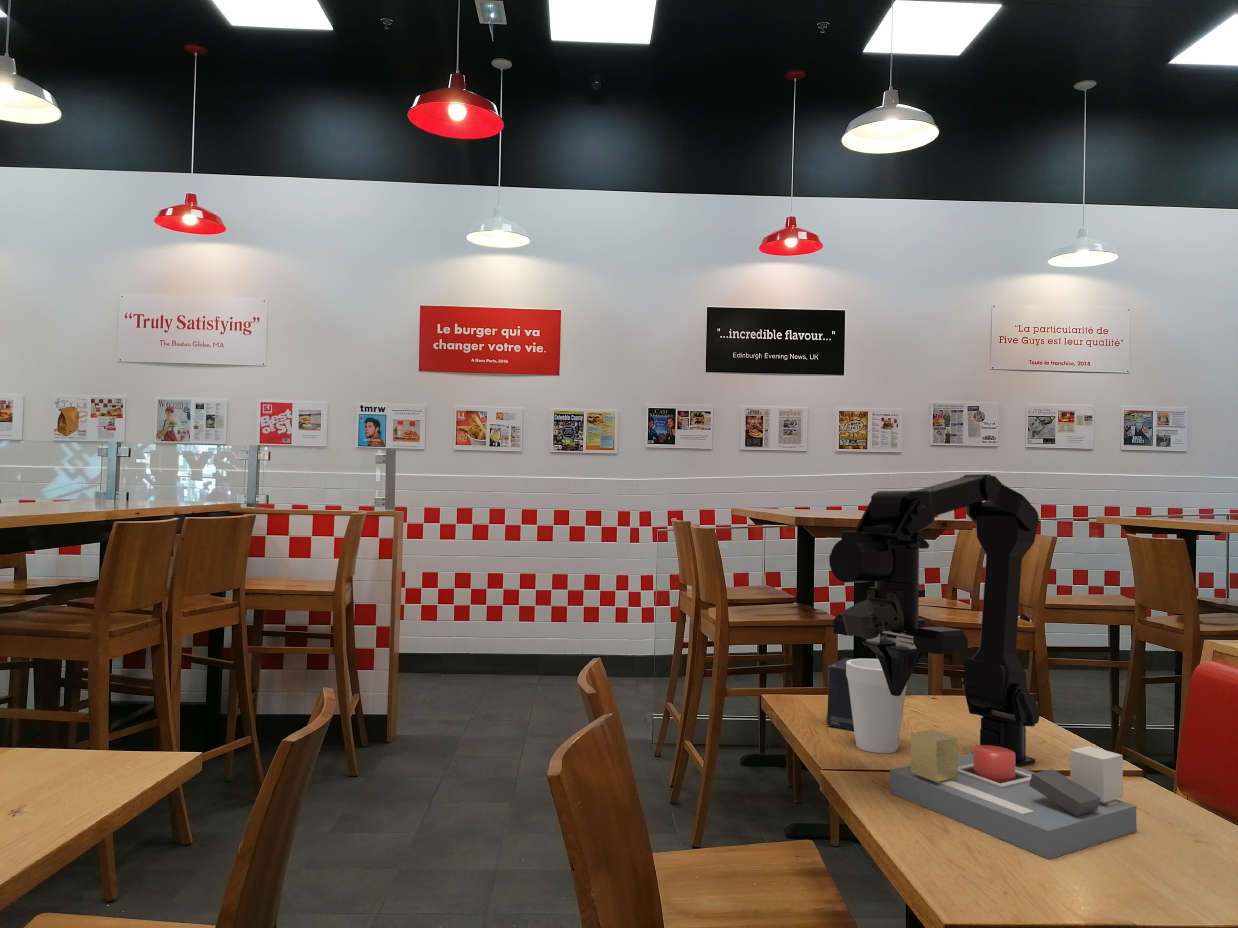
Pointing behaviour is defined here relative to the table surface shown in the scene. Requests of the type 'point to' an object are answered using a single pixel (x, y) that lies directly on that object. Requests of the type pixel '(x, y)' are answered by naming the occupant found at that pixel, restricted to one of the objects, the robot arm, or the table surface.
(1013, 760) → the red button
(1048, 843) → the panel
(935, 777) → the brass slider
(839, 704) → the small box
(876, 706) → the foam cup
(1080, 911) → the table surface
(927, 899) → the table surface
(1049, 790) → the block
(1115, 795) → the ivory slider
